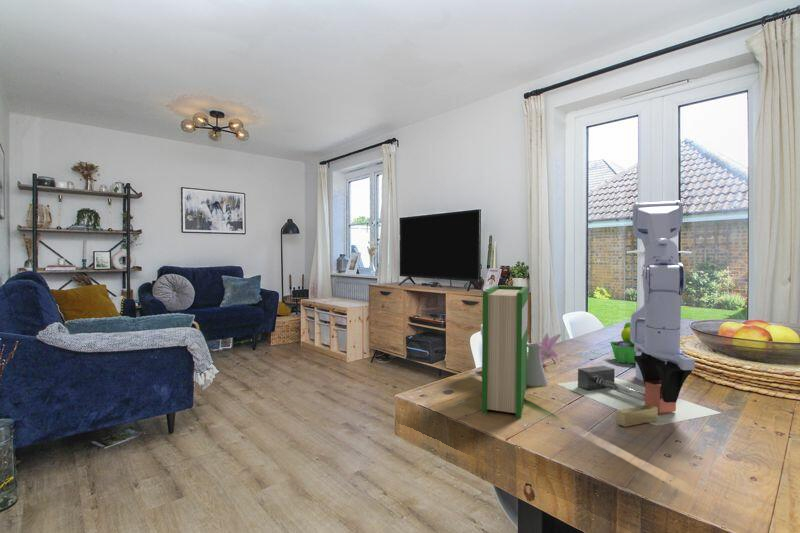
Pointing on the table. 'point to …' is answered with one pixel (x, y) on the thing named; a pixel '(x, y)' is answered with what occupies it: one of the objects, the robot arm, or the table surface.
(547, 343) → the lily
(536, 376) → the flask
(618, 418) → the keeper bar
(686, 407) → the board
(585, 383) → the eye bracket
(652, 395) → the mallet
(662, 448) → the table surface
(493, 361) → the hardback book
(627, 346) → the fruit basket
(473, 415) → the table surface
